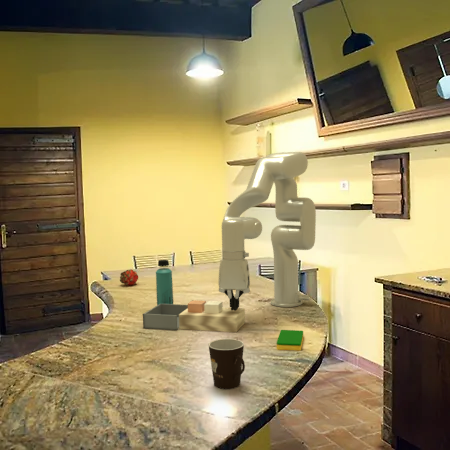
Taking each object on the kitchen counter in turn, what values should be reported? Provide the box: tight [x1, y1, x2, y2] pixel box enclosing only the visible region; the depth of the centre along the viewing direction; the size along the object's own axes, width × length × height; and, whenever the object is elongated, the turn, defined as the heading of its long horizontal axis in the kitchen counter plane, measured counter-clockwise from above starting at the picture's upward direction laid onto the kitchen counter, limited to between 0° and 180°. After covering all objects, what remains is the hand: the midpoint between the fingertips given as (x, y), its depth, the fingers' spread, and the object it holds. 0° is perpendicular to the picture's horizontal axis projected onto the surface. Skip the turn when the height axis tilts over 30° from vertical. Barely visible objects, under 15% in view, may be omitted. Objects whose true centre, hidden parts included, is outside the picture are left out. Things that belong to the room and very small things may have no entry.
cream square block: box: [204, 300, 224, 314], centre depth 178 cm, size 5×5×3 cm
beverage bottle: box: [155, 259, 175, 306], centre depth 199 cm, size 6×7×20 cm
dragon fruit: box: [119, 268, 139, 287], centre depth 253 cm, size 8×8×12 cm
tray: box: [142, 303, 188, 331], centre depth 182 cm, size 12×15×5 cm
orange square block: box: [187, 300, 207, 313], centre depth 179 cm, size 5×5×3 cm
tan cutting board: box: [178, 307, 246, 333], centre depth 178 cm, size 20×12×5 cm, turn 74°
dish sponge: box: [276, 329, 304, 352], centre depth 158 cm, size 7×14×2 cm, turn 168°
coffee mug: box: [208, 338, 246, 390], centre depth 125 cm, size 12×9×10 cm
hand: (234, 309), depth 176 cm, fingers closed
